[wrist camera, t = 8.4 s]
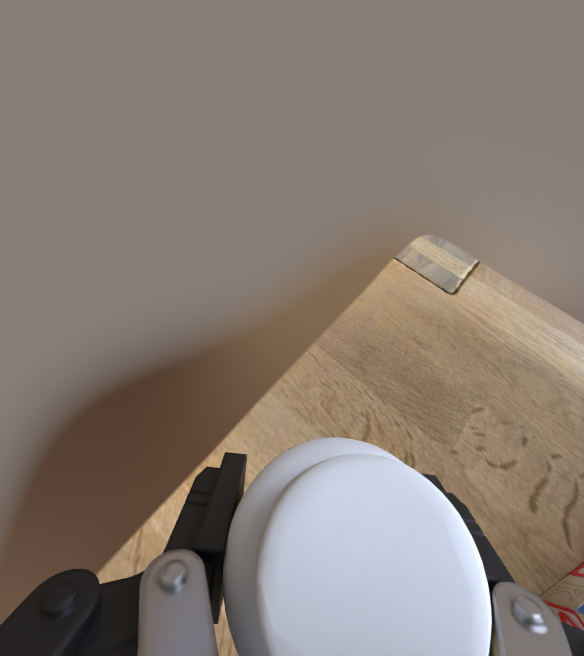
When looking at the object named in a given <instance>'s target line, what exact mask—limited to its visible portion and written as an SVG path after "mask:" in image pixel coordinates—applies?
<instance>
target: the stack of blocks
mask: <svg viewBox="0 0 584 656" xmlns="http://www.w3.org/2000/svg"><path fill="white" fill-rule="evenodd" d="M540 598H541V599H542V600H543V601H544V602H545V603H546V604H547V605H548V606H549V607H550V608H551V609H552V610H553V612H554V613H555V614H556V616H557V617H558V619H559V621H561V622H563V623H566V624H568V625H571V626H573V627H576V628H578V629H581V630H583V631H584V563H583V564H582V565H581V566H579V567H578V568H577V569H575V570H574V571H573V572H572V573H570V575H569V576H566V577H565V578H563V579H562V580H561V581H559V582H558V583H557V584H556V585H554V586H553V587H552V588H550V589H549V590H548V591H547V592H545V593H544V594H543V595H542V596H541V597H540Z"/></svg>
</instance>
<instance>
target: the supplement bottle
mask: <svg viewBox="0 0 584 656" xmlns="http://www.w3.org/2000/svg"><path fill="white" fill-rule="evenodd" d="M223 596H224V603H225V611H226V616H227V620H228V625H229V629H230V632H231V635H232V638H233V641H234V645H235V648H236V650H237V652H238V655H239V656H489V648H490V638H491V626H492V617H491V603H490V595H489V589H488V583H487V579H486V575H485V571H484V567H483V563H482V560H481V557H480V555H479V552H478V550H477V547H476V545H475V543H474V540H473V538H472V536H471V534H470V532H469V530H468V529H467V527H466V525H465V523H464V521H463V520H462V518H461V516H460V514H459V513H458V512H457V510H456V509H455V508H454V506H453V505H452V504H451V503H450V501H449V500H448V499H447V498H446V497H445V495H444V494H443V493H442V492H441V491H440V490H439V489H438V488H437V487H436V486H435V485H434V484H432V483H431V482H430V481H429V480H428V479H426V478H425V477H424V476H423V475H421V474H420V473H419V472H417V471H415V470H414V469H412V468H411V467H409V466H407V465H405V464H404V463H403V462H401V461H400V460H399V459H397V458H396V457H395V456H393V455H391V454H390V453H388V452H386V451H385V450H383V449H381V448H379V447H377V446H374V445H371V444H369V443H366V442H363V441H360V440H355V439H349V438H340V437H328V438H319V439H315V440H310V441H307V442H304V443H301V444H298V445H296V446H294V447H292V448H290V449H288V450H286V451H285V452H283V453H282V454H280V455H279V456H277V457H276V458H275V459H273V460H272V461H271V462H270V463H269V464H268V465H266V466H265V467H264V469H263V470H262V471H261V472H260V473H259V474H258V475H257V476H256V478H255V479H254V480H253V482H252V483H251V484H250V486H249V487H248V489H247V490H246V492H245V493H244V495H243V497H242V499H241V501H240V503H239V505H238V507H237V509H236V512H235V514H234V517H233V519H232V522H231V526H230V529H229V533H228V537H227V542H226V547H225V554H224V563H223Z"/></svg>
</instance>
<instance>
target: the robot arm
mask: <svg viewBox="0 0 584 656" xmlns="http://www.w3.org/2000/svg"><path fill="white" fill-rule="evenodd" d="M246 462H247V454H237V453H228V452H225V454H224V457H223V460H222V463H221V466H220V468H214V467H206V468H205V469H204V470H203V471H202V472H201V473H200V474H199V475H197V476H196V478H195V480H194V482H193V485H192V487H191V489H190V493H189V494H188V496H187V499H186V501H185V504H184V506H183V508H182V510H181V513H180V515H179V517H178V520H177V522H176V524H175V527H174V529H173V531H172V534H171V536H170V538H169V541H168V543H167V545H166V548H165V550H164V552H163V553H162V554H161V555H160V556H158V557H157V558H155V559H154V560H153V561H152V562H151V563H150V564H149V565H148V567H147V568H146V570H145V571H143V572H141V573H139V574H137V575H134V576H132V577H128V578H125V579H120V580H116V581H111V582H107V583H102V584H99V580H98V578H97V577H96V575H95V574H94V573H92V572H91V571H89V570H85V569H72V570H67V571H64V572H61V573H59V574H56V575H54V576H52V577H51V578H49V579H47V580H46V581H44V582H43V583H42V584H41V585H39V586H38V587H37V588H36V589H35V590H34V591H33V592H32V593H31V594H30V595H29V596H28V597H27V598H26V599H25V600H24V601H23V602H22V603H21V604H20V605H19V606H18V607H17V608H16V609H15V610H14V612H13V613H12V614H11V615H10V616H9V617H8V618H7V619H6V620H5V621H4V622H3V623H2V624H1V625H0V656H218V650H217V643H216V637H215V631H214V624H218V621H219V616H220V611H221V606H222V601H223V597H224V596H223V563H224V554H225V547H226V542H227V537H228V533H229V529H230V526H231V522H232V519H233V517H234V514H235V512H236V509H237V507H238V505H239V503H240V501H241V499H242V497H243V494H244V483H245V472H246ZM421 475H423V476H424V477H425V478H426V479H428V480H429V481H430V482H431V483H432V484H434V485H435V486H436V487H437V488H438V489H439V490H440V491H441V492H442V493H443V494H444V495H445V497H446V498H447V499H448V500H449V501H450V503H451V504H452V505H453V506H454V508H455V509H456V510H457V512H458V513H459V514H460V516H461V518H462V520H463V521H464V523H465V525H466V527H467V529H468V530H469V532H470V534H471V536H472V538H473V540H474V543H475V545H476V547H477V550H478V552H479V555H480V557H481V560H482V563H483V567H484V571H485V575H486V579H487V583H488V589H489V595H490V603H491V617H492V626H491V638H490V648H489V656H584V631H583V630H581V629H578V628H576V627H573V626H571V625H568V624H566V623H563V622H561V621H559V619H558V617H557V616H556V614H555V613H554V612H553V610H552V609H551V608H550V607H549V606H548V605H547V604H546V603H545V602H544V601H543V600H542V599H541V598H539V597H538V596H537V595H536V594H534V593H533V592H531V591H530V590H528V589H526V588H525V587H522V586H520V585H518V584H516V583H515V581H514V579H513V578H512V576H511V575H510V573H509V572H508V570H507V569H506V567H505V566H504V564H503V562H502V561H501V559H500V558H499V556H498V555H497V553H496V552H495V550H494V549H493V547H492V546H491V544H490V542H489V541H488V539H487V538H486V536H484V535H483V532H482V530H481V529H480V527H479V525H478V524H476V523H475V519H474V518H473V516H472V515H471V513H470V512H469V510H468V509H467V507H466V506H465V505H464V504H463V503H462V502H461V501H460V500H459V499H458V498H457V497H455V496H454V495H453V494H452V493H446V491H445V490H444V488H443V486H442V485H441V483H440V481H439V480H438V478H437V477H436V476H435V475H429V474H421Z"/></svg>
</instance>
